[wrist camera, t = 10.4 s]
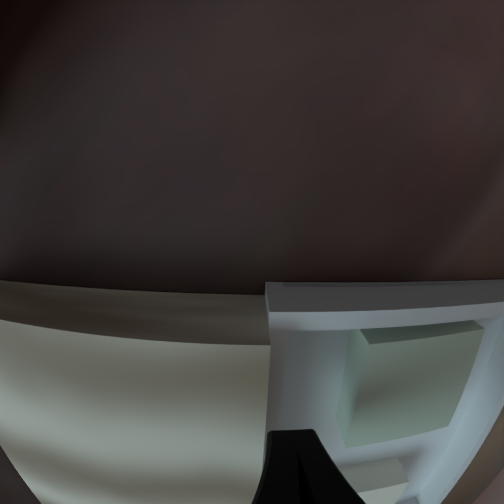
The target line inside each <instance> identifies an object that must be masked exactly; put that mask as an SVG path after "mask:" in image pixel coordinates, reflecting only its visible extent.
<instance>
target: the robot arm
mask: <svg viewBox="0 0 504 504" xmlns="http://www.w3.org/2000/svg"><path fill="white" fill-rule="evenodd" d="M251 504H366V503H365V502H364V501H363V499H362V498H361V497H360V496H359V495H358V494H357V493H356V491H355V490H354V489H353V488H352V486H351V485H350V484H349V483H348V481H347V480H346V479H345V477H344V476H343V475H342V473H341V472H340V471H339V469H338V468H337V466H336V465H335V463H334V462H333V460H332V459H331V457H330V456H329V454H328V453H327V451H326V449H325V448H324V446H323V444H322V442H321V441H320V439H319V437H318V435H317V433H316V431H315V430H313V429H299V430H271V431H270V432H268V433H267V441H266V454H265V463H264V467H263V471H262V474H261V478H260V481H259V485H258V488H257V491H256V493H255V496H254V498H253V501H252V503H251Z"/></svg>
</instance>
